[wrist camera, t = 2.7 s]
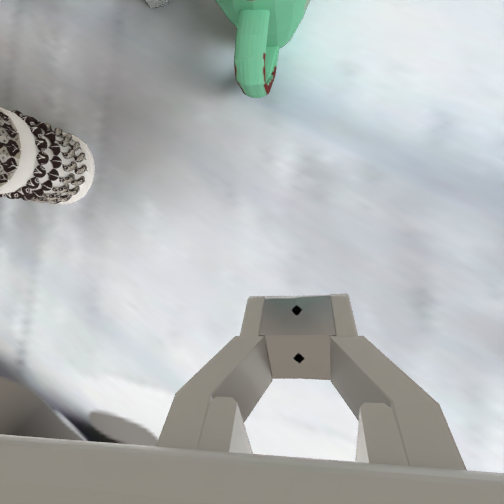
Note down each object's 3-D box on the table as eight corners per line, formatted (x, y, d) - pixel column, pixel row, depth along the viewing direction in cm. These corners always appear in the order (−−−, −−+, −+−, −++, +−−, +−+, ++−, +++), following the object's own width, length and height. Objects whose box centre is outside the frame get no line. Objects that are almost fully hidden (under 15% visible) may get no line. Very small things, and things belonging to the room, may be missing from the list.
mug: (229, -22, 30) (194, -146, 20) (325, -28, 28) (338, -166, 19) (219, 122, 31) (181, 73, 21) (311, 124, 30) (316, 71, 20)
